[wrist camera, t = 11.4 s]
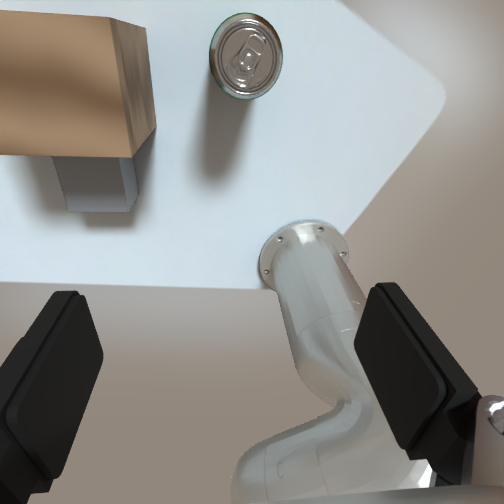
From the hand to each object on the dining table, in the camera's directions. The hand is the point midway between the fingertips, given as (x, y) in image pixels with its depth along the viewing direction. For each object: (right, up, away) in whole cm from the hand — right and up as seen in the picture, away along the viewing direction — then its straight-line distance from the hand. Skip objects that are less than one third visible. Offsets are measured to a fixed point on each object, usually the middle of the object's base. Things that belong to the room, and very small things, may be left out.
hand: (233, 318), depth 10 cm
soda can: (-1, +21, +20) cm, 29 cm away
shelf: (-15, +19, +20) cm, 31 cm away
